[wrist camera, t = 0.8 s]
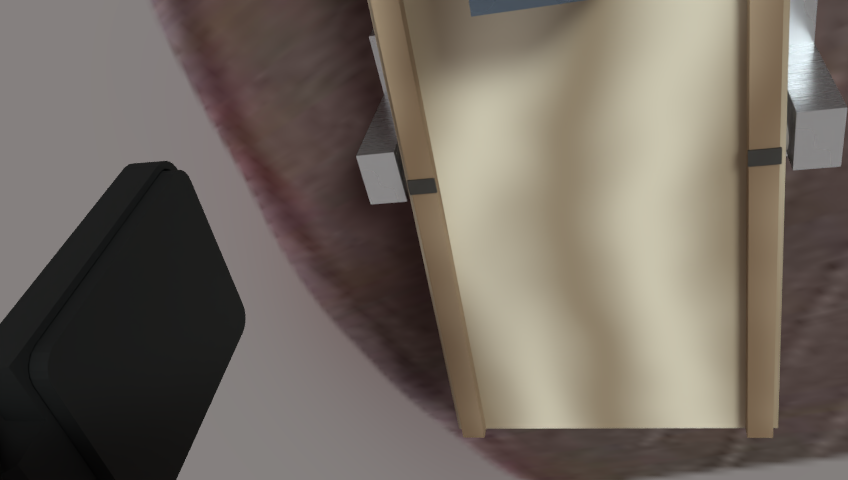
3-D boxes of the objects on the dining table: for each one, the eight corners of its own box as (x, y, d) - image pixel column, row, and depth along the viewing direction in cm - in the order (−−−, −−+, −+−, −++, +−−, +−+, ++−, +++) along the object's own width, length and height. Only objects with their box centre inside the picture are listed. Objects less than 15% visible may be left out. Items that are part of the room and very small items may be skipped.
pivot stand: (812, -38, 31) (855, 30, 26) (799, 140, 35) (833, 228, 30) (374, 25, 35) (336, 93, 30) (413, 175, 40) (386, 256, 35)
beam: (767, -274, 27) (811, -289, 21) (759, 341, 39) (786, 439, 33) (371, -187, 31) (315, -180, 25) (474, 349, 43) (452, 439, 37)
